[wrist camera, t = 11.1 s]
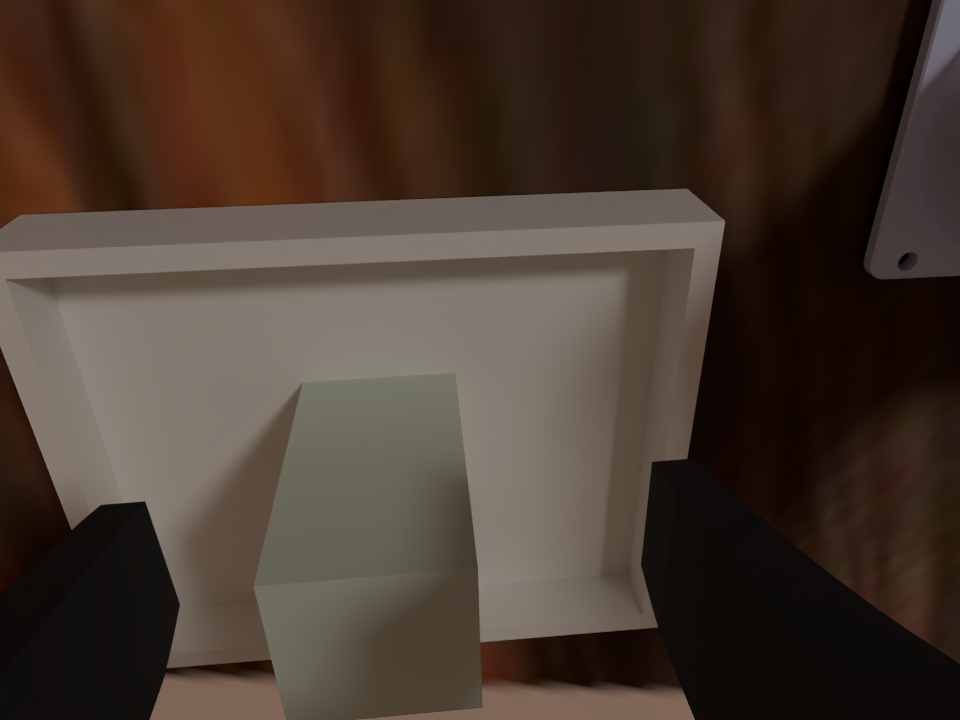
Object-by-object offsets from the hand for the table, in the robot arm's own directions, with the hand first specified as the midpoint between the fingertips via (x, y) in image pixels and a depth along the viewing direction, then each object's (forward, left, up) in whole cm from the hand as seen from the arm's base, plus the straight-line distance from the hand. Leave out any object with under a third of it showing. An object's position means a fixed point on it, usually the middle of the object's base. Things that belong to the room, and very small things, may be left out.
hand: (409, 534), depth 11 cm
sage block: (+1, +4, -9) cm, 10 cm away
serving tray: (+1, +4, -9) cm, 10 cm away
